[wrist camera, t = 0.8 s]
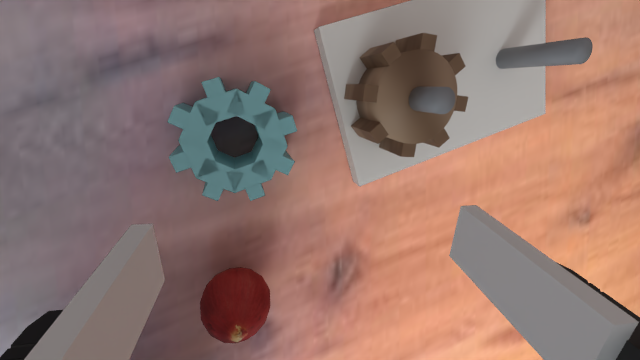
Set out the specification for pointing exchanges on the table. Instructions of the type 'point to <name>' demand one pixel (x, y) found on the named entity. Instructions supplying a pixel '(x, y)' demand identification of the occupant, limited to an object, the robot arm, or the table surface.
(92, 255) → the table surface
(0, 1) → the table surface
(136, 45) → the table surface
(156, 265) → the robot arm
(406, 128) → the walnut gear
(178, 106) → the teal gear
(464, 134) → the gear board
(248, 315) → the onion
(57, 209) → the table surface
